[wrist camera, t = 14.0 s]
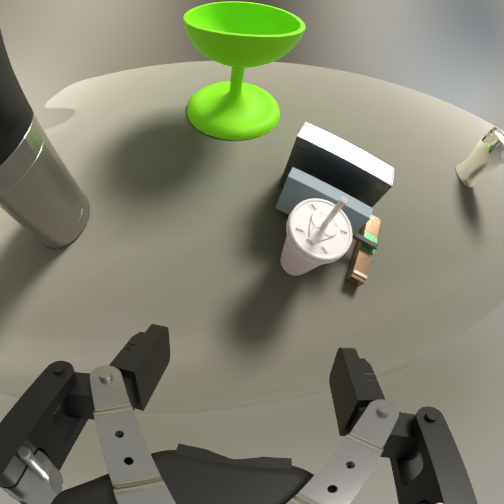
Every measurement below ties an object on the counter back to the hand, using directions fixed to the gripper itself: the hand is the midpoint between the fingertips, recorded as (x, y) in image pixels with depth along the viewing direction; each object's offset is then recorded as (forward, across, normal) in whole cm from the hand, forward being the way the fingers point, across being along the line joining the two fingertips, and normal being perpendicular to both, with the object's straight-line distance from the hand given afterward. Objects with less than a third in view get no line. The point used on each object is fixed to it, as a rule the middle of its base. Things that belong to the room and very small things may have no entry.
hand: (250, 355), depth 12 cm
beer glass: (+42, -44, -16) cm, 63 cm away
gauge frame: (+26, -7, -2) cm, 27 cm away
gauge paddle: (+25, -7, -2) cm, 26 cm away
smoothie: (+22, -4, +2) cm, 23 cm away
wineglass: (+36, +8, -19) cm, 42 cm away
